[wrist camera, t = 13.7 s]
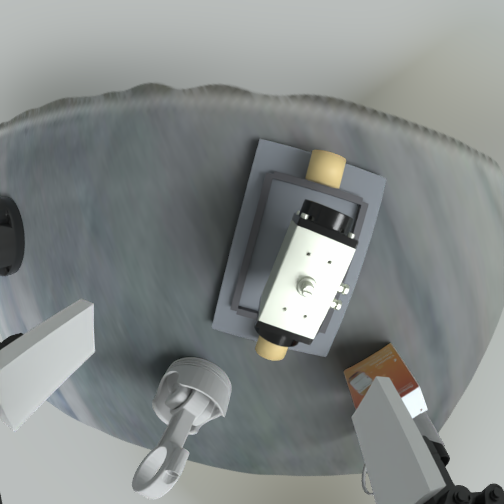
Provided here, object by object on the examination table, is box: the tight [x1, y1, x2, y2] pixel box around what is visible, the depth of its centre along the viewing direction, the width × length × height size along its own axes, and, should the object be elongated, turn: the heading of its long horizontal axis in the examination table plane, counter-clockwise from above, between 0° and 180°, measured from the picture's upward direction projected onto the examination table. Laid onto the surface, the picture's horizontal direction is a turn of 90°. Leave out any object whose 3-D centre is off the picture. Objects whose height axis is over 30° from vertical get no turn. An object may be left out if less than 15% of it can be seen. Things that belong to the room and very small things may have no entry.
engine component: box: [132, 357, 232, 499], centre depth 26 cm, size 11×20×10 cm
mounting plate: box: [212, 139, 387, 360], centre depth 29 cm, size 23×15×5 cm, turn 165°
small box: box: [344, 343, 427, 419], centre depth 28 cm, size 8×6×10 cm
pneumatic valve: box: [254, 199, 359, 347], centre depth 24 cm, size 6×12×12 cm, turn 160°
